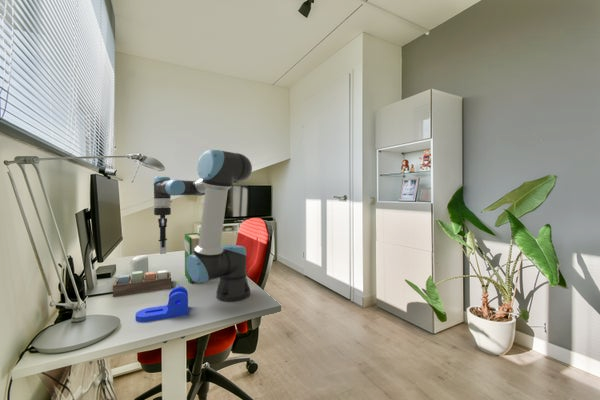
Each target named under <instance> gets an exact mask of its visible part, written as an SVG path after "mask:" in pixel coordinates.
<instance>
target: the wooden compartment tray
mask: <svg viewBox="0 0 600 400" xmlns="http://www.w3.org/2000/svg"><path fill="white" fill-rule="evenodd" d="M118 278H119V277H118ZM118 278H116V279H115V280H114V282H113V285H112V297H118V296H126V295H132V294H140V293H146V292H147V293H149V292H153V291H154V292H155V291H160V290H167V289H168V290H169V289H172V275H171V272H170V271H167V278H164V279H158V273H155V280H148V281H145V275H143V280H142V281H139V282H132V277H131V276H130V282H129V283H125V284H118Z"/></svg>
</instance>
